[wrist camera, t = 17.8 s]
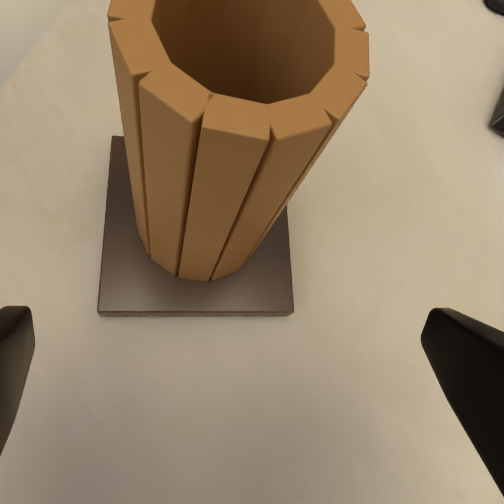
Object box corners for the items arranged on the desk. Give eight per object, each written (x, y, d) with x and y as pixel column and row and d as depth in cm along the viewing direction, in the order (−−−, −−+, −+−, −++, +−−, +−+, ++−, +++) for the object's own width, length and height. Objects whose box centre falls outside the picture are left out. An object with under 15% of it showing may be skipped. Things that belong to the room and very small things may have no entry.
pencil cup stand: (288, 316, 23) (328, 292, 17) (100, 316, 21) (78, 289, 15) (277, 160, 26) (309, 97, 20) (113, 146, 24) (99, 73, 18)
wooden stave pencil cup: (279, 255, 23) (414, 100, 11) (165, 299, 21) (173, 171, 8) (230, 155, 24) (301, -81, 12) (120, 188, 22) (71, -59, 10)
